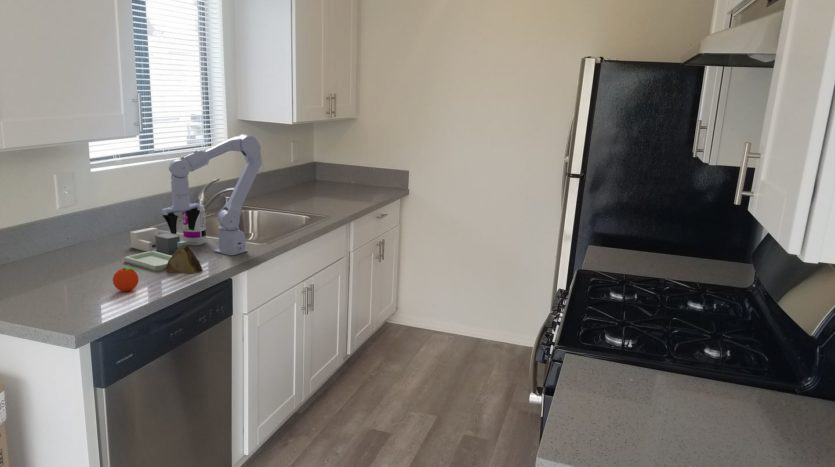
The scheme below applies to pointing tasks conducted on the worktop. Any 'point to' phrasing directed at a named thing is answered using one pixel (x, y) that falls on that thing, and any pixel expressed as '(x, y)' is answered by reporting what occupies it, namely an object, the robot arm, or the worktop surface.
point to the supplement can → (195, 229)
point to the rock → (184, 261)
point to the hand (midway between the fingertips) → (182, 231)
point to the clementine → (125, 279)
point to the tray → (149, 260)
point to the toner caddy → (168, 243)
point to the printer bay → (144, 239)
